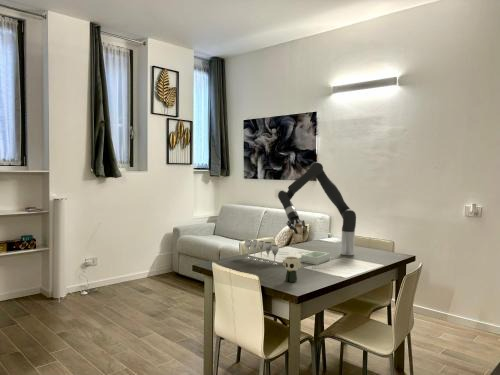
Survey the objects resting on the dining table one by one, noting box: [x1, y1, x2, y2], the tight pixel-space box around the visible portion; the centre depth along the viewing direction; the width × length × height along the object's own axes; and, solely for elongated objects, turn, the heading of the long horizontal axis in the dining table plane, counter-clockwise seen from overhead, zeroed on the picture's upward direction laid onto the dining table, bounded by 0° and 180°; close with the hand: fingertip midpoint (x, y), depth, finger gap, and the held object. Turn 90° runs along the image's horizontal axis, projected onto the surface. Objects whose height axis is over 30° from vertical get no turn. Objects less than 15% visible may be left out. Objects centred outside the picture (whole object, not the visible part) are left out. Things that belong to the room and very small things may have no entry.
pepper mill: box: [294, 224, 304, 243], centre depth 274 cm, size 5×5×12 cm
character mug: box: [282, 256, 302, 283], centre depth 218 cm, size 11×7×13 cm, turn 57°
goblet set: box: [244, 239, 280, 265], centre depth 265 cm, size 28×6×13 cm, turn 50°
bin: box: [300, 250, 331, 266], centre depth 269 cm, size 18×12×4 cm, turn 143°
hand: (300, 233), depth 273 cm, fingers closed on pepper mill, 5 cm apart
